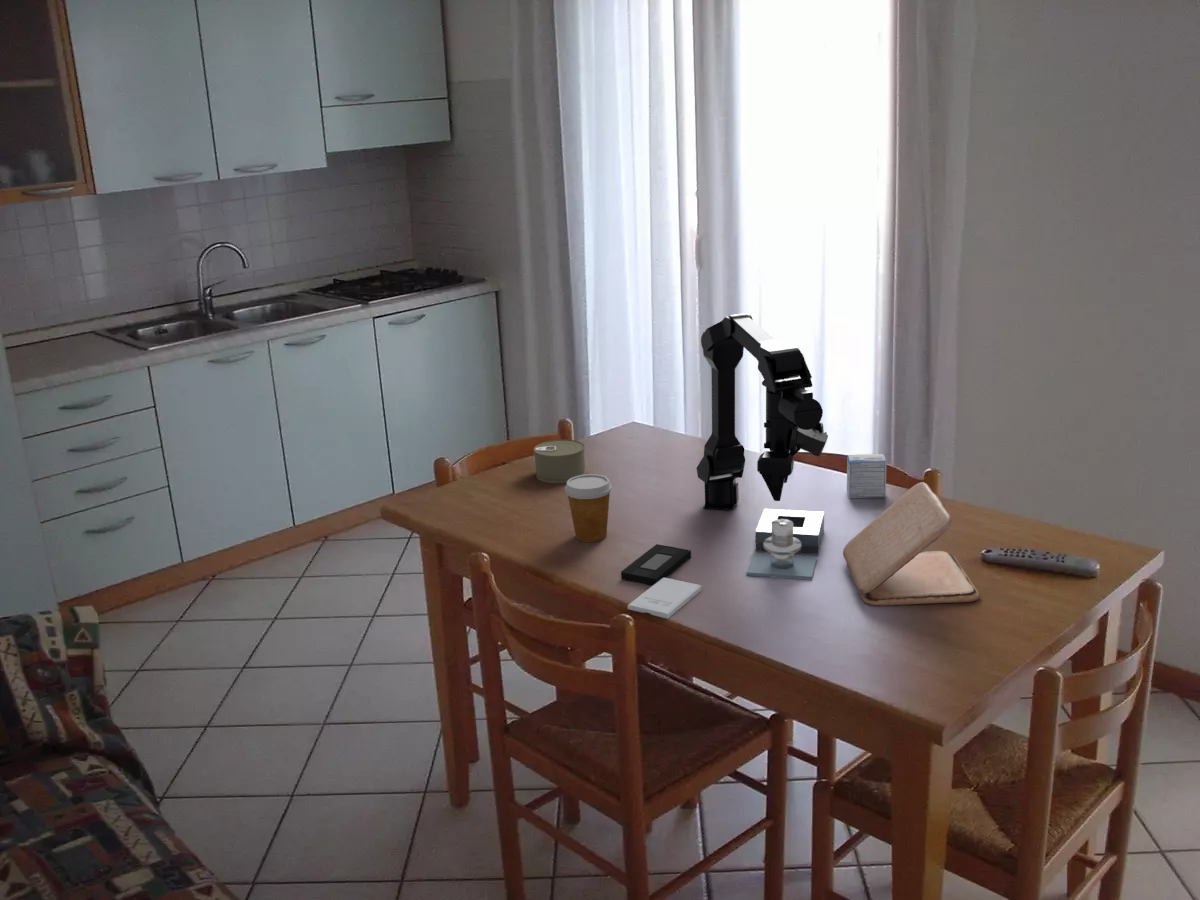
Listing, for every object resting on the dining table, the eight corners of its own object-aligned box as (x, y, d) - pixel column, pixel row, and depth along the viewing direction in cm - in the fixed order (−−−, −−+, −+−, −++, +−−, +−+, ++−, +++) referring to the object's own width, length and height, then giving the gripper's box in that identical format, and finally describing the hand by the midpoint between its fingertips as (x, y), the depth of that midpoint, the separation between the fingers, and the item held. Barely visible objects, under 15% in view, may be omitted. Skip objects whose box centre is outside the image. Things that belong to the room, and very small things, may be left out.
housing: (755, 550, 223) (755, 531, 222) (764, 526, 234) (764, 508, 233) (818, 554, 220) (818, 535, 218) (823, 530, 231) (824, 511, 229)
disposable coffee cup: (621, 530, 236) (619, 475, 232) (602, 548, 228) (599, 491, 224) (580, 525, 240) (576, 471, 236) (560, 542, 232) (556, 487, 228)
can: (585, 482, 265) (584, 454, 263) (534, 485, 265) (532, 457, 263) (586, 465, 276) (585, 438, 274) (537, 467, 276) (535, 440, 274)
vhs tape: (620, 581, 214) (620, 572, 213) (657, 553, 226) (656, 544, 225) (656, 589, 210) (655, 579, 210) (691, 559, 222) (690, 550, 221)
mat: (746, 575, 213) (746, 572, 212) (753, 555, 221) (753, 552, 221) (811, 579, 209) (811, 576, 209) (816, 559, 217) (816, 556, 217)
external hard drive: (701, 593, 208) (667, 621, 198) (662, 584, 212) (627, 612, 202) (701, 585, 207) (667, 613, 198) (662, 576, 212) (627, 603, 202)
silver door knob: (760, 570, 213) (760, 528, 210) (766, 555, 219) (766, 514, 216) (798, 573, 211) (799, 531, 208) (803, 557, 217) (803, 517, 214)
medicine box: (883, 491, 249) (884, 453, 247) (886, 498, 245) (887, 460, 242) (846, 491, 250) (846, 454, 247) (848, 499, 246) (849, 461, 243)
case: (840, 560, 217) (841, 481, 212) (952, 555, 216) (956, 476, 211) (860, 610, 198) (861, 524, 193) (983, 605, 197) (988, 519, 192)
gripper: (819, 432, 202) (817, 513, 208) (830, 400, 219) (828, 476, 224) (756, 429, 205) (756, 509, 211) (772, 398, 222) (771, 472, 227)
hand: (780, 491), depth 218 cm, fingers open, 9 cm apart
